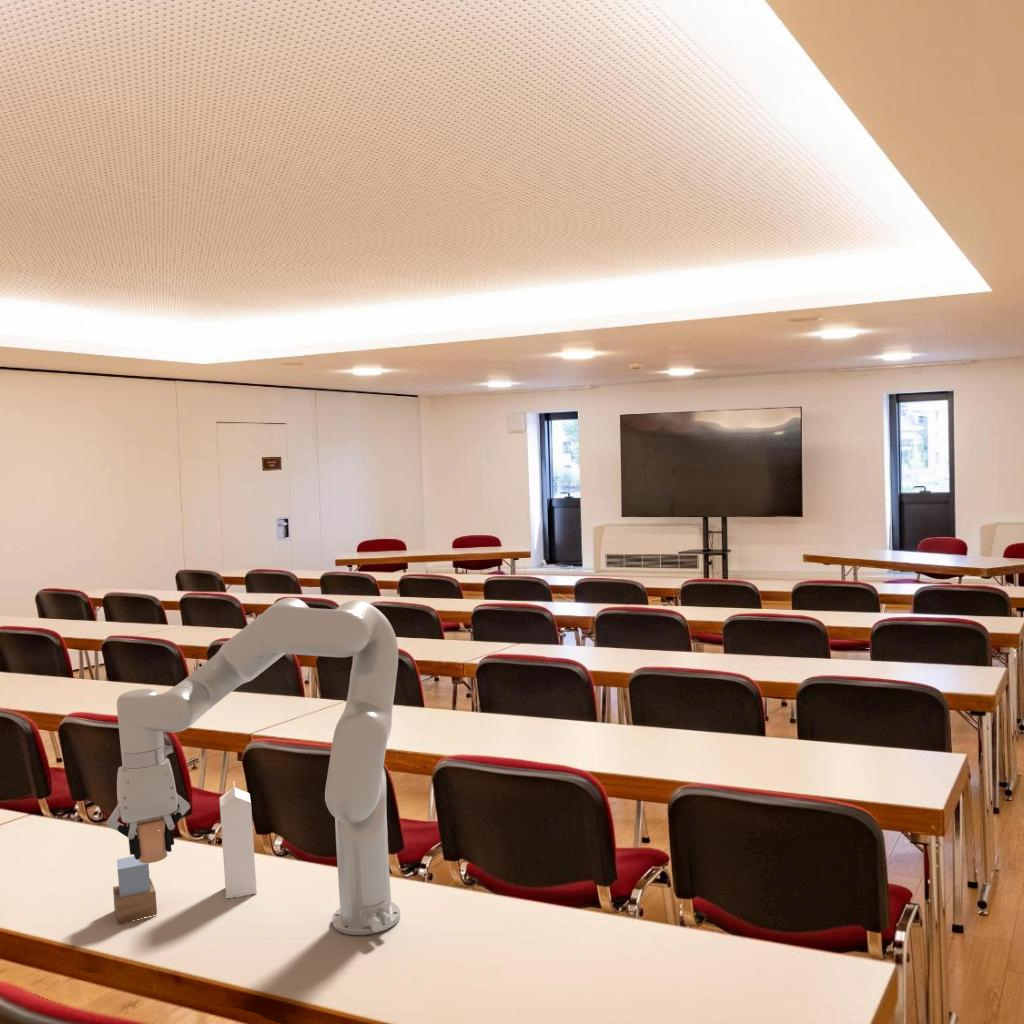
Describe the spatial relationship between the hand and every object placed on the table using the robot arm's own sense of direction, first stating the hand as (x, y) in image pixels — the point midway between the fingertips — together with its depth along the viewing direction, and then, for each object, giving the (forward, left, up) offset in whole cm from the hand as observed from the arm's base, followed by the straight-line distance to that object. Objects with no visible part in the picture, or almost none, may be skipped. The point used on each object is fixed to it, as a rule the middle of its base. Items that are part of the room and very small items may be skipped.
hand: (152, 852), depth 185 cm
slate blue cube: (+11, +2, -11) cm, 15 cm away
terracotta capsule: (0, 0, -1) cm, 1 cm away
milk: (+9, -18, -16) cm, 25 cm away
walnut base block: (+11, +2, -15) cm, 19 cm away
